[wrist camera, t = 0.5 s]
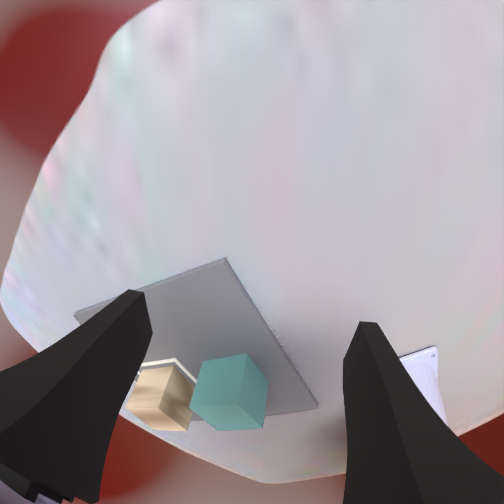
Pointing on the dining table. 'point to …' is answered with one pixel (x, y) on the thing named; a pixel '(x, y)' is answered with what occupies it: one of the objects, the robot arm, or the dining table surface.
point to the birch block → (162, 399)
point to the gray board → (214, 332)
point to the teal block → (230, 393)
